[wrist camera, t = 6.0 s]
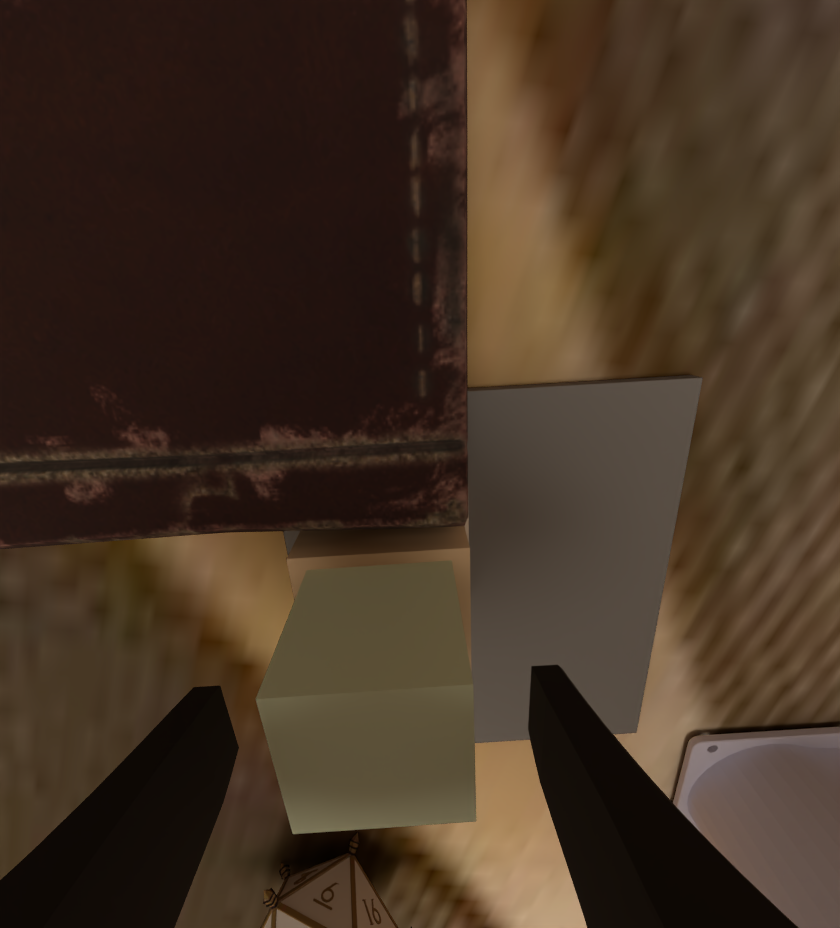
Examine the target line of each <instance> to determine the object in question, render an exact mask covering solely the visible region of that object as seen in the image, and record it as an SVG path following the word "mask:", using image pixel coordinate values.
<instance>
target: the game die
mask: <svg viewBox="0 0 840 928" xmlns="http://www.w3.org/2000/svg"><path fill="white" fill-rule="evenodd" d="M350 841H351V842H350V845H349V852H348V853H347V854H344V855H342V856H339V857H336V858H334V859H331V860H329V861H326V862H324V863H321V864H318V865H316V866H313V867H311V868H308V869H306V870H303V871H300V872H298V873H295V874H293V875H290V869H289V865H285V864H283V863H281V868H280V871H279V872H280V875H281V877H282V879H284V882H283V884H282V886H281V888H280V890H279V892H278V894H277V895H276V894H275V892H274V891H273V889H272V888H271V889H270V890H264V902H263V904H265V903H266V904H267V905H266V907H270V909H269V911H268V913H267V915H266V917H265V919H264V921H263V923H262V925H261V927H260V928H398V926H397V925H396V923H395V921H394V920H393V918H392V916H391V915H390V913H389V911H388V910H387V908H386V906H385V905H384V903H383V902H382V900H381V898H380V897H379V895H378V893H377V892H376V890H375V888H374V887H373V885H372V883H371V882H370V880H369V878H368V877H367V875H366V873H365V872H364V870H363V868H362V867H361V865H360V864H359V862H358V860H357V859H356V857H355V855H354V854H355V852H356V850H357V849H358V844H359V839H358V832H357V834H356V835H355V836H354V837H353V838H352V839H350ZM411 928H412V927H411Z"/></svg>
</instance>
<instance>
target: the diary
mask: <svg viewBox="0 0 840 928" xmlns="http://www.w3.org/2000/svg"><path fill="white" fill-rule="evenodd" d="M467 442H468V395H467V0H0V549H9V548H23V547H36V546H50V545H63V544H77V543H90V542H104V541H117V540H131V539H144V538H158V537H171V536H185V535H198V534H212V533H225V532H263V531H308V530H353V529H399V528H436V527H456V526H465V524H466V521H467V519H468V451H467Z"/></svg>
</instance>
